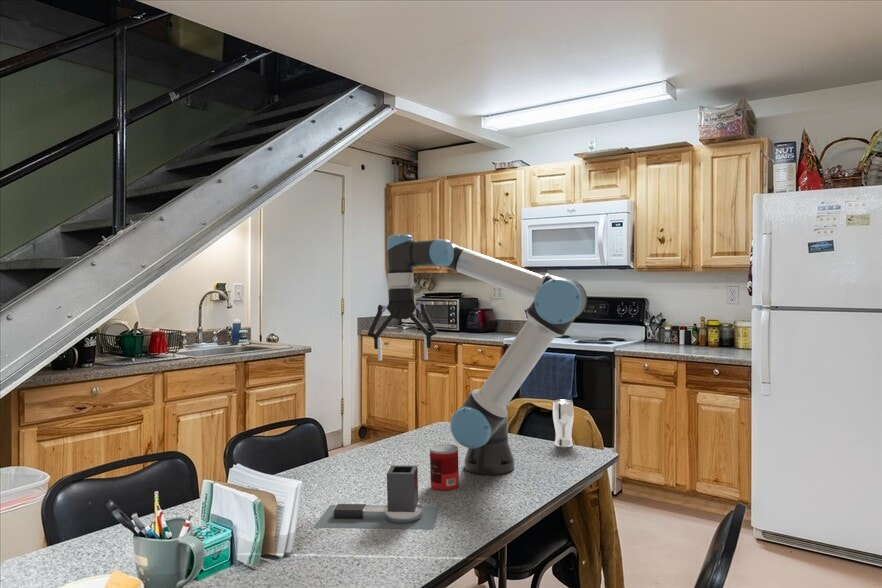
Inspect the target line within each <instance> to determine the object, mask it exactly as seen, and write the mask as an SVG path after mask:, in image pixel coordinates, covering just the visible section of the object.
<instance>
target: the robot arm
mask: <svg viewBox="0 0 882 588" xmlns="http://www.w3.org/2000/svg"><path fill="white" fill-rule="evenodd" d="M386 242H387V244H386V255H387V287H390V288H389V289H388V291H387V292H388V294H387V295H388V304H387V305H383V304H378V306H377V311H376V312H377V313H376V315H375V316H374V318H373V321H372V323H371V325H370V328H369V330H368V332H367V336H368V337H371V338H372V339H373V342H374V343H373V348H374V350H377V359H378V361H379V362H380V361H382V360H383V341H382V337H380V336H381V334H383V332H384V331H385V330H386V329H387V327H388V326H389V325H390V324H391V323H392V321H393V320H394V319H395V320H409V319H410V320H411V321H412V322H413V323H414V324H415V325H416V326H417V327H418V328H419V330H420V331H421V332H422V333H423V334H424V335H425V336H424V337H423V349H424V350H423V351H424V354H423V355H424V357H423V358H424V361H427V360H429V355H428V349H429V348H430V349H431V347H432V336H435V335H437V334H438V331H437V329H436V327H435V326H434V324H433V321H432V320H431V318H430V315H429V314H428V312H427V310H426V304H425V303H420V304H415V288H413V286H415V282H414V281H415V279H414V277H415V276H414V268H418V267H420V268H421V267H422V268H423V267H438V268H440V267H441V268H445V269H449V270H451V271H454V272H458V273H460V274H462V275H465V276H468V277H470V278H474V279H476V280H479V281H482V282H485V283H486V284H490V285H492V286H494V287H496V288H497V287H498V288H501V289H503V290H506V291H508V292H512V293H514V294H517V295H519V296H522V297H524V298H527V299H529V300H533V301H532V303H531V304H530V305H529V307H528V308H527V310H526V317H527V320H526V321H525V323H524V325H523V326H522V327H521V328H520V331H519V332H518V333H517V335H516V336H515V338H514V339H513V341H512V342H511V344H510V345H509V347H507V349H506V351H505V352H504V354H503V355H502V357H501V358H500V359H499V361H498V362H497V364H496V366H495V367H494V369H493V370H492V371H491V373H490V374H489V375H488V377H487V379H486V380H485V381H484V383H483V384H482V386H481V387H480V388H476V389H473V390H472V391H470V392H469V393H468V397H467V398H466V400H465V401H464V403H463V404H462V405H461V407H460V408H458V409H457V410H455V412H454V413H453V415H452V416H451V418H450V422H449V426H450V427H449V428H450V431H451V432H450V433H451V434H452V436H453V438H454V440H455V442H457V443H458V444H459V445H461V446H462V447H464V448H467V451H466V453H465V457H464V462H463V463H464V464H463V465H464V469H465V470H466V471H468V472H470V473H473V474H477V475H488V476H492V475H503V474H506V473H509V472H511V471H513V470H514V469H515V458H514V455H513V452H512V449H511V446H510V444H509V426H508V425H509V424H508V423H509V420H508V413H509V412H508V405H509V403H510V402H511V401H512V399H513V398H514V397H515V394H517V392H518V390H519V389H520V388H521V386H522V385H523V384H524V382H525V380H526V379H527V377H528V376H529V375H530V373H531V372H532V370H533V369H534V367H536V365H537V363H538V362H539V360H540V359H541V358H542V356H543V355H544V354H545V352H546V350H547V349H548V347H549V346H550V345H551V344H552V342H553V341H554V339H555V338H560V337H563V336H564V335H565V333H567V331H568V329H569V328H570V326H571V325H572V323H573V322H574V321H575V320H576V318H577V317H579V316H580V315H582V313H583V312H584V310H585V309H586V307H587V302H588V296H587V292H586V290H585V287H584V286H583V285H582V284H581V282H579V281H577V280H575V279H572V278H568V277H567V278H566V277H561V276H556V275H553V274H550V273H546V274H544V275H542V274H539V273H537V272H533V271H530V270H528V269H524V268H522V267H519V266H517V265H513V264H510V263H508V262H504V261H501V260H500V259H496V258H494V257H491V256H488V255H485V254H481V253H479V252H476V251H473V250H470V249H468V248H464V247H461V246H459V245H458V244H456V243H453V242H451V241H450V240H449V239H439V238H438V239H432V240H428V239H427V240H413V236H412V235H411V234H393V235H389V236H388V238H387V241H386ZM416 309H417V310H418V311H419V312H421V314H422V317H423V318H424V320H425V322H426V324H427V326H428V328H429V330H430V331H429V330H428V328H427V327H426V326H424V324H423V323H422V322H421V321H420V319H418V317H417V316H416V315H415V314H414V312H415V311H416ZM386 310H387V311H388V312H389V313H390V315H389V316H388V317H387V318H386V320H385V321H384V322H383V323H382V324H381V325H380V327H379V328H378V330H377V331H376V328H377V326H378V325H379V322H380V320H381V317H382V315H383V313H385V312H386ZM375 331H376V332H375Z"/></svg>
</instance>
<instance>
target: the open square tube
mask: <svg viewBox="0 0 882 588" xmlns="http://www.w3.org/2000/svg"><path fill="white" fill-rule="evenodd" d="M418 469H419V468H418V465H413V464H412V465H409V464H408V465H403V464H402V465H399V464H398V465H394V464H393V465H391V466H390V468H389V470H388V471H387V473H386V493H387V495H386V498H387V500H386V502H387V504H388V512H415V510H416V507H417V504H418V502H419V483H418V482H419V475H418V474H419V473H418V472H419V471H418Z"/></svg>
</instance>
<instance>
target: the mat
mask: <svg viewBox="0 0 882 588" xmlns="http://www.w3.org/2000/svg"><path fill="white" fill-rule="evenodd" d="M337 505H338V504H330V505H329V506H328V507H327V509H326V510H325V511H324V512H323V514H322V515H321V516H320V517H319V519H318V520H317V522H316V523H315V524H314V525H313V527H312V528H315V529H316V528H317V529H320V528H322V529H323V528H324V529H326V528H327V529H373V530H374V529H378V530H380V529H381V530H428V531H429V530H434V529H435V525H436V522H437V517H438V513H439V510H440V505H437V506H435V505H422V518H421V519H420V520H419V521H417V522H414V523H410V524H393V523H389V522H387V521H386V520H385V519H334V518H332V510H333V509H334V508H335V506H337ZM366 506H381V507H385V506H386V505H373V504H371V505H370V504H369V505H367V504H366Z"/></svg>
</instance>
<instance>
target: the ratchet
mask: <svg viewBox="0 0 882 588" xmlns="http://www.w3.org/2000/svg"><path fill="white" fill-rule="evenodd" d="M336 505H337V506H335V508H334V509H333V510H332V518H334V519H385V520H386V521H387V522H389V523H393V524H410V523H414V522H417V521H419V520H420V519H421V518H422V506H423V505H422V504H421V503H420V502H419V501H418V504H417V507H416V510H415V512H388V503H387V504H386V505H384V506H385V507H381V506H382V505H381V506H366V505H367V503H337V504H336Z"/></svg>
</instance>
